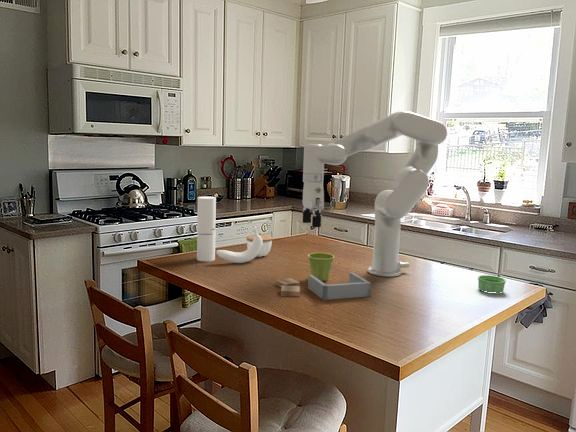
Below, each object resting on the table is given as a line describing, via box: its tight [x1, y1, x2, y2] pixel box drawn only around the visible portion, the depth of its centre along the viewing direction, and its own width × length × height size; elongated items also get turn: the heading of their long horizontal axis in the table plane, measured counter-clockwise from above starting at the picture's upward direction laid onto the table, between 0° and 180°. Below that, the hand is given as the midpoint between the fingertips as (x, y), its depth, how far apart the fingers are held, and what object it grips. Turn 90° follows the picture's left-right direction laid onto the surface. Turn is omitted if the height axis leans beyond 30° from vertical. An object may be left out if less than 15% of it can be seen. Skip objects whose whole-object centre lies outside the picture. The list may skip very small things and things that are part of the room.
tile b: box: [280, 285, 301, 297], centre depth 168 cm, size 6×6×2 cm
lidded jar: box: [246, 232, 273, 258], centre depth 218 cm, size 11×11×9 cm
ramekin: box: [477, 274, 507, 293], centre depth 179 cm, size 9×9×4 cm
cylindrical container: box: [196, 195, 217, 262], centre depth 207 cm, size 7×7×25 cm
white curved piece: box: [215, 224, 263, 264], centre depth 204 cm, size 5×19×15 cm, turn 120°
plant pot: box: [307, 252, 335, 282], centre depth 185 cm, size 9×9×9 cm
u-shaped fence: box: [307, 271, 372, 301], centre depth 171 cm, size 16×13×4 cm
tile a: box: [275, 277, 301, 288], centre depth 176 cm, size 6×6×2 cm
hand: (311, 224), depth 192 cm, fingers open, 8 cm apart
